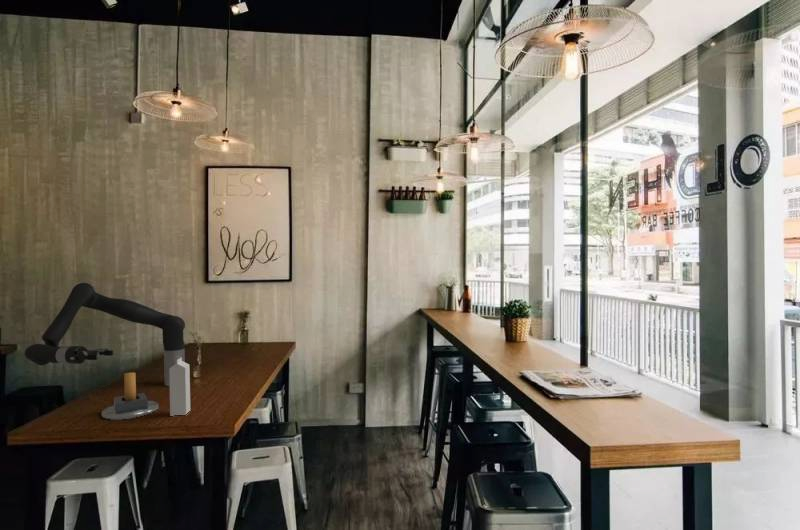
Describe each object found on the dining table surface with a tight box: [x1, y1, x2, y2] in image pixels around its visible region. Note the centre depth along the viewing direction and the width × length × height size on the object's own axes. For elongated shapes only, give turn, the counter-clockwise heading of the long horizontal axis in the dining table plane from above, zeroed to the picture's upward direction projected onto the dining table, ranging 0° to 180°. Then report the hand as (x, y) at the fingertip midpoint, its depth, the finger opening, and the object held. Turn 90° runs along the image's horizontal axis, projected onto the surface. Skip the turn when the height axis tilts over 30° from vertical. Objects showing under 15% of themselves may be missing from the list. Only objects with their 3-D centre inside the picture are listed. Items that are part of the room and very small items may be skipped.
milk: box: [169, 357, 191, 417], centre depth 188 cm, size 6×6×22 cm
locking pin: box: [123, 372, 137, 401], centre depth 192 cm, size 4×4×14 cm
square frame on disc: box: [101, 392, 159, 421], centre depth 192 cm, size 20×20×6 cm
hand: (104, 355), depth 201 cm, fingers open, 8 cm apart
